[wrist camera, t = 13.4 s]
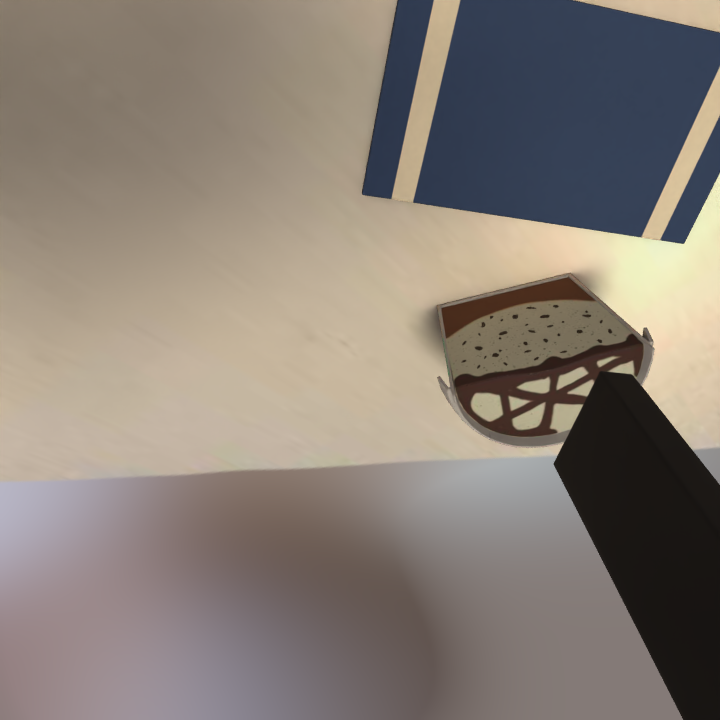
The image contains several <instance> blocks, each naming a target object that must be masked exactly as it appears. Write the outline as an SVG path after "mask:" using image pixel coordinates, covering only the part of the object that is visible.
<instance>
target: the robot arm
mask: <svg viewBox="0 0 720 720" xmlns="http://www.w3.org/2000/svg"><path fill="white" fill-rule="evenodd" d="M554 466H555V468H556V470H557V472H558V474H559V476H560V478H561V479H562V482H563V484H564V486H565V488H566V490H567V491H568V493H569V496H570V497H571V499H572V501H573V503H574V505H575V507H576V509H577V511H578V513H579V515H580V517H581V519H582V521H583V523H584V525H585V527H586V529H587V531H588V533H589V535H590V537H591V539H592V541H593V543H594V545H595V547H596V549H597V551H598V553H599V555H600V557H601V559H602V561H603V563H604V564H605V566H606V568H607V570H608V572H609V574H610V576H611V578H612V580H613V582H614V584H615V586H616V588H617V590H618V592H619V594H620V596H621V598H622V600H623V602H624V604H625V606H626V608H627V610H628V612H629V614H630V616H631V618H632V620H633V622H634V624H635V626H636V627H637V629H638V631H639V633H640V635H641V637H642V639H643V641H644V643H645V645H646V647H647V649H648V651H649V653H650V655H651V657H652V659H653V661H654V663H655V665H656V667H657V669H658V671H659V673H660V675H661V677H662V679H663V681H664V683H665V685H666V686H667V689H668V691H669V692H670V694H671V696H672V698H673V700H674V702H675V704H676V706H677V708H678V710H679V712H680V714H681V716H682V718H683V720H720V485H719V483H718V482H717V481H716V480H715V478H714V477H713V476H712V475H711V473H710V472H709V471H708V469H707V468H706V467H705V466H704V464H703V463H702V462H701V461H700V459H699V458H698V457H697V456H696V454H695V453H694V452H693V450H692V449H691V448H690V447H689V445H688V444H687V443H686V442H685V440H684V439H683V438H682V437H681V435H680V434H679V433H678V432H677V430H676V429H675V428H674V426H673V425H672V424H671V423H670V421H669V420H668V419H667V418H666V416H665V415H664V414H663V413H662V411H661V410H660V409H659V407H658V406H657V405H656V404H655V402H654V401H653V400H652V399H651V397H650V396H649V395H648V394H647V392H646V391H645V390H644V389H643V387H642V386H641V385H640V383H639V382H638V381H637V380H636V378H635V377H634V376H633V375H632V374H625V373H616V372H606V371H600V372H599V374H598V376H597V378H596V380H595V382H594V384H593V386H592V388H591V390H590V392H589V394H588V396H587V398H586V400H585V402H584V404H583V406H582V408H581V410H580V412H579V414H578V416H577V418H576V420H575V422H574V424H573V426H572V428H571V430H570V432H569V434H568V436H567V438H566V440H565V442H564V444H563V446H562V448H561V450H560V452H559V454H558V456H557V458H556V460H555V462H554Z"/></svg>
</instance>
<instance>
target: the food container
mask: <svg viewBox="0 0 720 720" xmlns="http://www.w3.org/2000/svg"><path fill="white" fill-rule="evenodd" d="M437 309H438V315H439V321H440V327H441V333H442V339H443V345H444V351H445V357H446V363H447V369H448V375H449V381H450V387H449V388H448V386H447V385H446V384H445V382H444V381H443V380H442V378H441V377H440V376H439V377H437V378H438V381H439V384H440V387H441V390H442V392H443V393H444V395H445V397H446V399H447V401H448V402H449V403H450V405H451V406H452V407H453V409H454V410H455V412H456V413H457V414H458V415H459V417H460V418H461V419H462V420H463V421H464V422H465V423H466V424H467V425H468V426H470V427H471V428H472V429H473V430H475V431H476V432H478V433H479V434H480V435H482V436H484V437H486V438H488V439H489V440H492V441H495V442H497V443H500V444H503V445H508V446H513V447H524V448H536V447H547V446H553V445H558V444H562V443H564V442H565V440H566V438H567V436H568V434H569V432H570V430H571V428H572V426H573V424H574V422H575V420H576V418H577V416H578V414H579V412H580V410H581V408H582V406H583V404H584V402H585V400H586V398H587V396H588V394H589V392H590V390H591V388H592V386H593V384H594V382H595V380H596V378H597V376H598V374H599V372H600V371H606V372H616V373H625V374H632V375H633V376H634V377H635V378H636V380H637V381H638V382H639V383H640V385H641V386H642V385H643V383H644V381H645V379H646V377H647V375H648V373H649V370H650V367H651V364H652V361H653V355H654V348H653V340H652V337H651V335H650V333H649V331H648V329H647V328H644V329H643V336H641V335H640V334H639V333H638V332H637V331H635V330H634V329H633V328H632V327H631V326H630V325H629V324H628V323H626V322H625V321H624V320H623V319H622V318H621V317H620V316H618V315H617V314H616V313H615V312H614V311H613V310H612V309H610V308H609V307H608V306H607V305H606V304H605V303H604V302H603V301H601V300H600V299H599V298H598V297H597V296H596V295H595V294H593V293H592V292H591V291H590V290H589V289H588V288H587V287H585V286H584V285H583V284H582V283H581V282H580V281H579V280H577V279H576V278H575V277H574V276H573V275H572V274H571V273H568V274H564V275H560V276H556V277H552V278H548V279H544V280H539V281H535V282H531V283H527V284H523V285H519V286H515V287H511V288H507V289H503V290H498V291H494V292H490V293H486V294H482V295H478V296H474V297H470V298H466V299H462V300H457V301H453V302H449V303H445V304H441V305H437Z"/></svg>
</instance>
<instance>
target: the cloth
mask: <svg viewBox="0 0 720 720" xmlns="http://www.w3.org/2000/svg"><path fill="white" fill-rule="evenodd" d="M719 173H720V33H719V32H714V31H710V30H705V29H701V28H696V27H691V26H687V25H682V24H678V23H673V22H669V21H664V20H660V19H655V18H650V17H646V16H641V15H637V14H632V13H628V12H623V11H619V10H614V9H610V8H605V7H600V6H596V5H591V4H587V3H582V2H578V1H573V0H398V2H397V7H396V12H395V18H394V23H393V28H392V34H391V39H390V45H389V50H388V55H387V61H386V66H385V72H384V77H383V82H382V88H381V93H380V98H379V104H378V109H377V115H376V120H375V125H374V131H373V136H372V141H371V147H370V152H369V158H368V163H367V168H366V174H365V179H364V185H363V190H362V194H363V195H367V196H374V197H381V198H387V199H393V200H400V201H406V202H413V203H420V204H426V205H433V206H440V207H446V208H453V209H459V210H466V211H472V212H479V213H485V214H492V215H498V216H505V217H512V218H518V219H525V220H531V221H538V222H544V223H551V224H557V225H564V226H571V227H577V228H584V229H590V230H597V231H603V232H610V233H616V234H623V235H630V236H636V237H642V238H649V239H655V240H662V241H669V242H675V243H682V244H684V243H685V241H686V239H687V237H688V235H689V233H690V231H691V229H692V227H693V225H694V223H695V221H696V219H697V217H698V215H699V213H700V211H701V209H702V207H703V205H704V203H705V201H706V199H707V197H708V195H709V193H710V191H711V189H712V187H713V185H714V183H715V181H716V179H717V177H718V175H719Z"/></svg>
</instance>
